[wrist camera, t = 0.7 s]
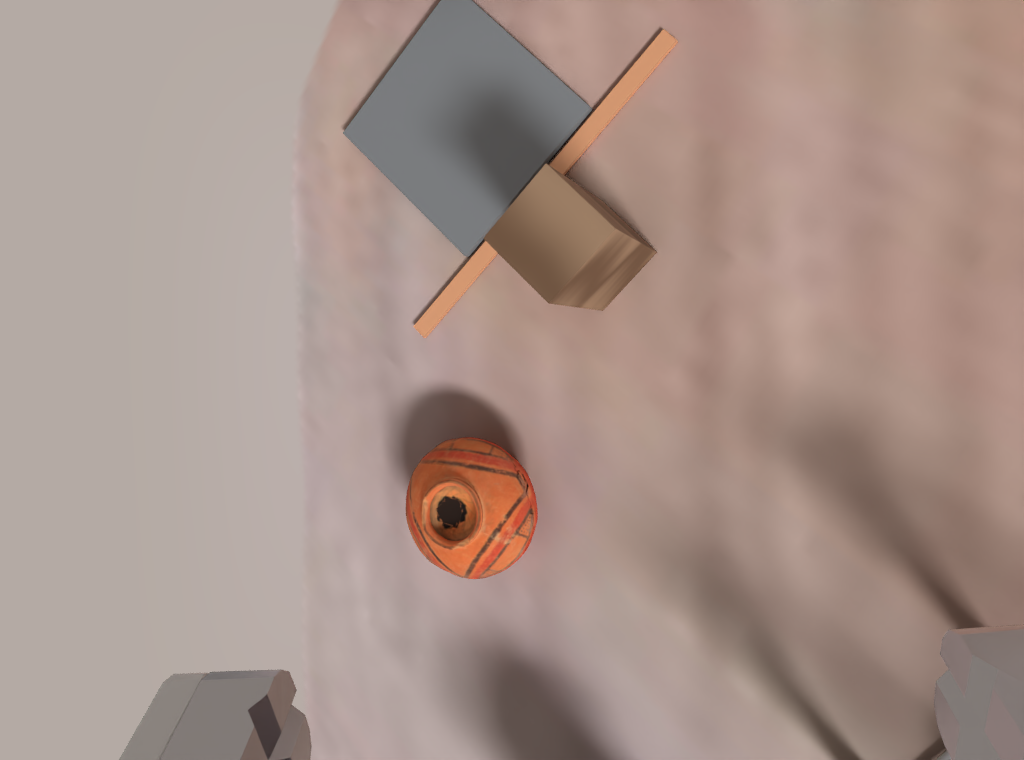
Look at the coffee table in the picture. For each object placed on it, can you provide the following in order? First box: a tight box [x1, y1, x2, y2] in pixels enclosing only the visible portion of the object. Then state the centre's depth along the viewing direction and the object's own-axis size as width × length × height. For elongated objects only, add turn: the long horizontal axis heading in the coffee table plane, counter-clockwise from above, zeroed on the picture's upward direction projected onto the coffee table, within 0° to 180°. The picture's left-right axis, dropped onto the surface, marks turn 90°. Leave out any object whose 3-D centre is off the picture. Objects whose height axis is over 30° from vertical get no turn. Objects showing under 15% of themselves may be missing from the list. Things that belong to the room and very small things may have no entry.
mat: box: [343, 0, 593, 257], centre depth 47 cm, size 11×12×1 cm
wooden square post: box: [483, 164, 657, 311], centre depth 40 cm, size 4×4×10 cm
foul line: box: [413, 29, 678, 338], centre depth 46 cm, size 22×1×1 cm, turn 136°
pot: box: [406, 437, 537, 579], centre depth 45 cm, size 8×8×7 cm
